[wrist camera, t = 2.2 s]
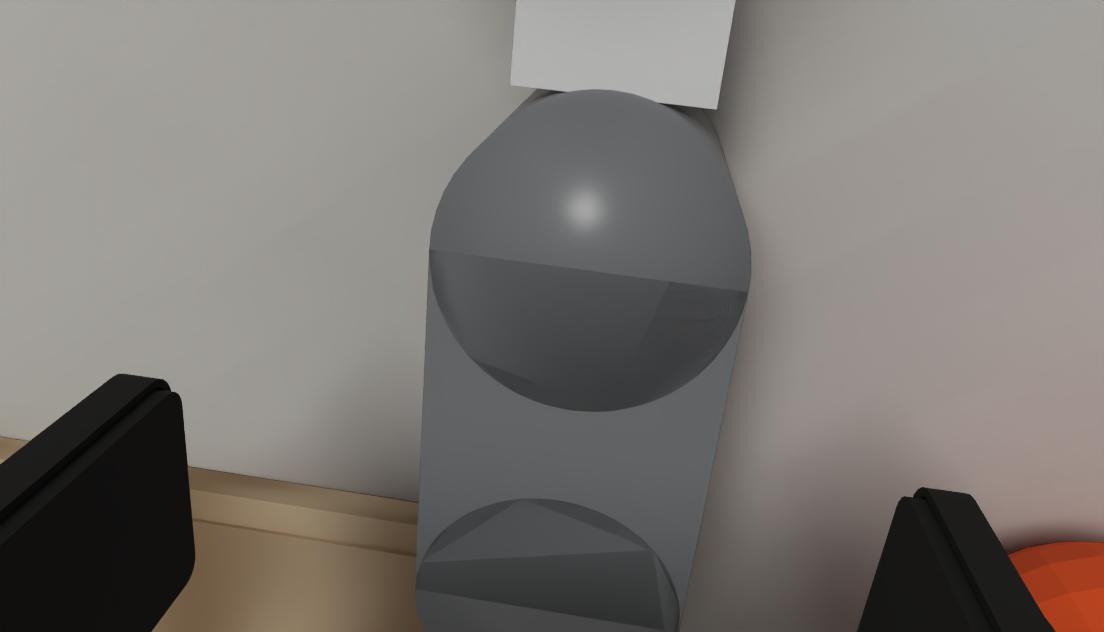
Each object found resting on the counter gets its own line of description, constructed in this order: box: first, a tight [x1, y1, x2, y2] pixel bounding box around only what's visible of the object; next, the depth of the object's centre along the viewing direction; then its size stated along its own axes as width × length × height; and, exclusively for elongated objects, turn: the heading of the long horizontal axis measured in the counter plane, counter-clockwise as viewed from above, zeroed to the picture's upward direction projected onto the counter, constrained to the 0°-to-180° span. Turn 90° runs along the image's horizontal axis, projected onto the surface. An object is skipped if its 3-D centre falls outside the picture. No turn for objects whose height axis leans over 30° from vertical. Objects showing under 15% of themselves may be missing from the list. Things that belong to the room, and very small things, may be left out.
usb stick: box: [415, 0, 751, 632], centre depth 15 cm, size 13×4×5 cm, turn 175°
